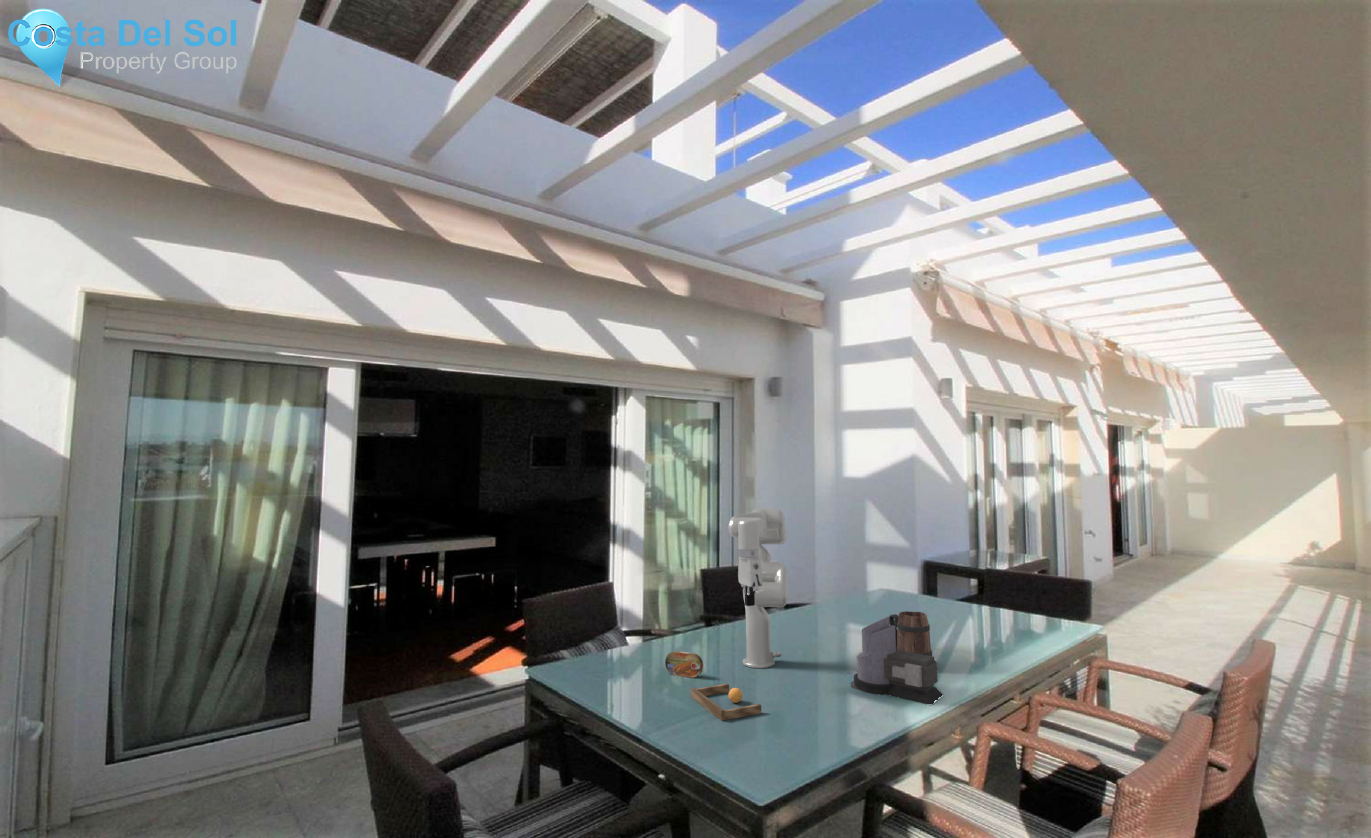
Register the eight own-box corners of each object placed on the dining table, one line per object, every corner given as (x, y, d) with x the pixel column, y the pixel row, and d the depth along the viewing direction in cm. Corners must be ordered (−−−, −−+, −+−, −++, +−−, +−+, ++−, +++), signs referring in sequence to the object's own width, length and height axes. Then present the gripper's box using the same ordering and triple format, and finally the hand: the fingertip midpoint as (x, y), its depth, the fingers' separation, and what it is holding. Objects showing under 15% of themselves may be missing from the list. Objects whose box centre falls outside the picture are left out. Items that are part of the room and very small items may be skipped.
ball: (732, 685, 206) (723, 695, 203) (738, 684, 202) (730, 693, 200) (740, 696, 206) (732, 706, 203) (747, 695, 202) (738, 705, 199)
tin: (664, 673, 232) (664, 650, 233) (668, 671, 235) (668, 648, 236) (700, 679, 225) (700, 655, 226) (704, 677, 228) (704, 653, 229)
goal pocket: (727, 691, 213) (727, 682, 213) (761, 713, 193) (761, 703, 193) (691, 697, 207) (690, 688, 208) (721, 720, 187) (721, 710, 188)
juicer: (842, 687, 216) (840, 615, 219) (862, 675, 229) (860, 607, 231) (929, 707, 197) (925, 628, 199) (946, 694, 209) (943, 619, 211)
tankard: (948, 669, 234) (946, 615, 236) (914, 676, 227) (912, 620, 229) (902, 653, 255) (900, 604, 257) (870, 659, 248) (868, 608, 250)
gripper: (768, 555, 220) (769, 608, 219) (747, 551, 234) (748, 600, 232) (750, 557, 217) (751, 610, 216) (730, 552, 231) (730, 602, 229)
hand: (749, 605), depth 224 cm, fingers closed
